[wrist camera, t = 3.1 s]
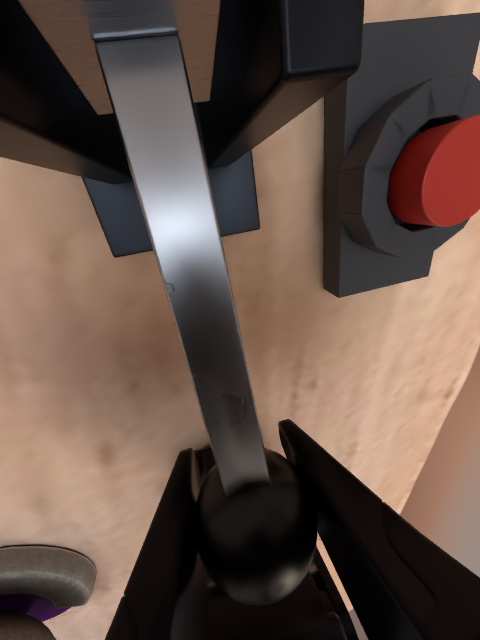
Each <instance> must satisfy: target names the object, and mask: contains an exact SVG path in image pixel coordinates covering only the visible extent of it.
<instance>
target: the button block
mask: <svg viewBox="0 0 480 640" xmlns="http://www.w3.org/2000/svg"><path fill="white" fill-rule="evenodd" d="M479 40H480V13H470V14H459V15H449V16H439V17H428V18H418V19H407V20H397V21H387V22H376V23H366V24H363V33H362V51H361V63H360V66H359V69H358V71H357V72H356V73H355V74H353V75H352V76H351V77H349V78H348V79H347V80H345V81H344V82H342V83H341V84H340V85H338V86H337V87H336V88H334V89H333V90H332V91H330V92H329V93H327V94H326V95H325V189H324V289H325V290H326V291H328V292H330V293H331V294H333V295H335V296H336V297H338V298H340V297H344V296H349V295H353V294H357V293H361V292H365V291H369V290H373V289H377V288H381V287H385V286H390V285H394V284H398V283H402V282H406V281H410V280H414V279H418V278H422V277H426V276H428V275H429V271H430V266H431V261H432V257H433V252H434V250H436V249H437V248H438V247H440V246H441V245H442V244H443V243H445V242H446V241H447V240H448V239H450V238H451V237H452V236H454V235H455V234H456V233H457V232H459V231H460V230H461V229H463V228H464V226H465V225H466V223H467V222H468V220H469V219H470V218H468V219H467V220H465V221H463V222H461V223H459V224H456V225H453V226H448V227H440V226H430V225H420V224H410V223H405V222H403V221H401V220H399V219H398V218H397V217H396V216H395V215H394V214H393V212H392V210H391V208H390V205H389V201H388V185H389V178H390V174H391V171H392V168H393V166H394V164H395V162H396V160H397V158H398V156H399V154H400V153H401V152H402V150H403V149H404V148H405V146H406V145H407V144H408V143H409V142H410V141H411V140H412V139H413V138H414V137H416V136H417V135H418V134H420V133H422V132H423V131H425V130H428V129H430V128H434V127H437V126H440V125H444V124H447V123H451V122H454V121H458V120H461V119H464V118H468V117H471V116H475V115H480V81H479V80H478V79H477V78H476V77H475V76H474V75H473V74H472V73H473V68H474V63H475V59H476V54H477V50H478V45H479Z"/></svg>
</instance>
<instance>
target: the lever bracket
mask: <svg viewBox="0 0 480 640" xmlns="http://www.w3.org/2000/svg"><path fill="white" fill-rule="evenodd" d="M363 16H364V0H223V2H222V10H221V19H220V27H219V35H218V43H217V52H216V60H215V68H214V76H213V85H212V93H211V100H209V101H204V102H196V103H194V107H195V112H196V117H197V122H198V127H199V132H200V137H201V142H202V147H203V151H204V156H205V161H206V166H207V171H208V176H209V181H210V186H211V191H212V195H213V200H214V205H215V210H216V215H217V220H218V225H219V230H220V235H221V237H222V236H227V235H232V234H238V233H243V232H248V231H253V230H258V229H260V222H259V213H258V204H257V195H256V186H255V176H254V167H253V158H252V149H253V148H254V147H255V146H257V145H258V144H259V143H261V142H262V141H263V140H265V139H266V138H268V137H269V136H270V135H272V134H273V133H274V132H276V131H277V130H278V129H280V128H281V127H283V126H284V125H285V124H287V123H288V122H289V121H291V120H292V119H293V118H295V117H296V116H298V115H299V114H300V113H302V112H303V111H304V110H306V109H307V108H308V107H310V106H311V105H312V104H314V103H315V102H317V101H318V100H319V99H321V98H322V97H323V96H325V95H326V94H327V93H329V92H330V91H332V90H333V89H334V88H336V87H337V86H338V85H340V84H341V83H342V82H344V81H345V80H347V79H348V78H349V77H351V76H352V75H353V74H355V73H356V72H357V71H358V69H359V66H360V63H361V51H362V33H363ZM0 157H4V158H8V159H12V160H16V161H20V162H24V163H28V164H32V165H36V166H40V167H44V168H48V169H52V170H56V171H60V172H64V173H68V174H72V175H76V176H80V177H82V179H83V182H84V184H85V187H86V189H87V192H88V194H89V197H90V199H91V202H92V204H93V207H94V209H95V212H96V214H97V217H98V219H99V222H100V224H101V227H102V229H103V232H104V234H105V237H106V239H107V242H108V244H109V247H110V249H111V252H112V254H113V256H114V257H121V256H127V255H132V254H137V253H142V252H147V251H152V250H153V246H152V243H151V240H150V236H149V233H148V229H147V226H146V222H145V219H144V216H143V212H142V209H141V205H140V202H139V198H138V195H137V192H136V188H135V185H134V181H133V178H132V175H131V171H130V168H129V164H128V161H127V157H126V154H125V151H124V147H123V144H122V140H121V137H120V133H119V130H118V127H117V123H116V120H115V116H114V113H110V114H102V115H97V114H96V113H95V112H94V110H93V109H92V107H91V106H90V105H89V103H88V102H87V100H86V99H85V98H84V96H83V95H82V93H81V92H80V90H79V89H78V88H77V86H76V85H75V83H74V82H73V81H72V79H71V78H70V76H69V75H68V74H67V72H66V71H65V69H64V68H63V67H62V65H61V64H60V62H59V61H58V60H57V58H56V57H55V55H54V54H53V52H52V51H51V50H50V48H49V47H48V45H47V44H46V43H45V41H44V40H43V38H42V37H41V36H40V34H39V33H38V31H37V30H36V29H35V27H34V26H33V24H32V23H31V22H30V20H29V19H28V17H27V16H26V15H25V13H24V12H23V10H22V9H21V7H20V6H19V5H18V3H17V2H16V0H0Z"/></svg>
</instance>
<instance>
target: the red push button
mask: <svg viewBox="0 0 480 640" xmlns="http://www.w3.org/2000/svg"><path fill="white" fill-rule="evenodd" d="M388 201H389V205H390V208H391V210H392V212H393V214H394V215H395V216H396V217H397V218H398V219H399V220H401V221H403V222H405V223H410V224H420V225H430V226H440V227H448V226H453V225H456V224H459V223H461V222H463V221H465V220H467V219H468V218H470V217H471V216H473V215H474V214H475V213H476V212H477V211H478V210H479V209H480V115H475V116H471V117H468V118H464V119H461V120H458V121H454V122H451V123H447V124H444V125H440V126H437V127H434V128H430V129H428V130H425V131H423V132H422V133H420V134H418V135H417V136H416V137H414V138H413V139H412V140H411V141H410V142H409V143H408V144H407V145H406V146H405V148H404V149H403V150H402V152H401V153H400V154H399V156H398V158H397V160H396V162H395V164H394V166H393V168H392V171H391V174H390V178H389V185H388Z"/></svg>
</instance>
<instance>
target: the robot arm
mask: <svg viewBox="0 0 480 640" xmlns="http://www.w3.org/2000/svg"><path fill="white" fill-rule="evenodd" d="M278 427H279V435H280V440H281V444H282V447H283V449H284V452H285V455H286V458H287V460H288V461H289V462H291V463H292V464H293V465H294V466H295V468H296V469H297V470H298V471H299V473H300V474H301V475H302V477H303V479H304V480H305V482H306V484H307V486H308V488H309V491H310V493H311V496H312V499H313V502H314V506H315V510H316V517H317V531H318V534H319V536H320V538H321V540H322V542H323V544H324V546H325V548H326V551H327V553H328V555H329V557H330V559H331V561H332V563H333V565H334V568H335V570H336V572H337V574H338V576H339V578H340V580H341V582H342V584H343V587H344V589H345V591H346V593H347V595H348V597H349V599H350V601H351V604H352V606H353V608H354V610H355V612H356V614H357V616H358V618H359V620H360V623H361V625H362V627H363V629H364V631H365V633H366V635H367V638H368V640H480V578H479V577H478V576H477V575H475V574H474V573H473V572H471V571H470V570H469V569H467V568H466V567H465V566H463V565H462V564H461V563H459V562H458V561H457V560H455V559H454V558H452V557H451V556H450V555H449V554H447V553H446V552H445V551H443V550H442V549H441V548H440V547H438V546H437V545H436V544H434V543H433V542H432V541H430V540H429V539H428V538H427V537H425V536H424V535H423V534H421V533H420V532H419V531H418V530H417V529H415V528H414V527H413V526H412V525H411V524H409V523H408V522H407V521H406V520H405V519H403V518H402V517H401V516H400V515H399V514H397V513H396V512H395V511H394V510H393V509H392V508H391V507H390V506H388V505H387V504H386V503H385V502H383V503H382V500H381V499H380V498H379V497H378V496H377V495H376V494H375V493H373V492H372V491H371V490H370V489H369V488H368V487H367V486H365V485H364V484H363V483H362V482H361V481H360V480H359V479H357V478H356V477H355V476H354V475H353V474H352V473H351V472H349V471H348V470H347V469H346V468H345V467H344V466H343V465H341V464H340V463H339V462H338V461H337V460H336V459H335V458H334V457H332V456H331V455H330V454H329V453H328V452H327V451H326V450H324V449H323V448H322V447H321V446H320V445H319V444H318V443H316V442H315V441H314V440H313V439H312V438H311V437H310V436H308V435H307V434H306V433H305V432H304V431H303V430H302V429H300V428H299V427H298V426H297V425H296V424H295V423H294V422H292V421H291V420H290V419H286V420H282V421H279V423H278ZM215 464H216V462H215V459H214V455H213V452H212V449H211V448H209V449H206V450H203V451H199V452H196V453H194V451H193V449H192V448H189V449H186V450H182V451H181V452H180V453H179V455H178V457H177V460H176V462H175V465H174V467H173V470H172V472H171V475H170V478H169V480H168V483H167V485H166V488H165V490H164V493H163V495H162V498H161V500H160V503H159V505H158V508H157V510H156V513H155V515H154V518H153V520H152V523H151V525H150V528H149V531H148V533H147V536H146V538H145V541H144V543H143V546H142V548H141V551H140V553H139V556H138V558H137V561H136V563H135V566H134V568H133V571H132V573H131V576H130V578H129V581H128V584H127V586H126V589H125V591H124V596H123V597H122V598H121V601H120V603H119V606H118V608H117V611H116V614H115V616H114V619H113V621H112V623H111V626H110V628H109V631H108V633H107V635H106V638H105V640H359V639H358V636H357V633H356V630H355V628H354V625H353V623H352V620H351V618H350V615H349V613H348V610H347V608H346V606H345V604H344V602H343V600H342V598H341V595H340V593H339V591H338V589H337V587H336V585H335V583H334V581H333V579H332V577H331V575H330V573H329V571H328V569H327V567H326V565H325V563H324V561H323V559H322V557H321V555H320V553H319V551H318V549H317V547H316V548H315V552H314V556H313V560H312V562H311V565H310V567H309V570H308V572H307V574H306V575H305V577H304V578H303V580H302V581H301V583H300V584H299V586H298V587H297V588H296V589H295V590H294V591H293V592H291V593H290V594H289V595H288V596H287V597H285V598H284V599H282V600H280V601H278V602H275V603H273V604H269V605H248V604H244V603H242V602H239V601H236V600H234V599H233V598H231V597H230V596H228V595H227V594H225V593H224V592H223V591H222V590H221V589H220V588H219V587H218V586H217V585H216V584H215V583H214V581H213V580H212V579H211V577H210V576H209V574H208V573H207V571H206V569H205V567H204V565H203V563H202V561H201V558H200V555H199V552H198V548H197V543H196V538H195V526H194V519H195V508H196V502H197V498H198V495H199V492H200V489H201V486H202V484H203V482H204V480H205V478H206V476H207V475H208V473H209V471H210V470H211V469H212V468H213V466H214V465H215Z"/></svg>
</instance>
